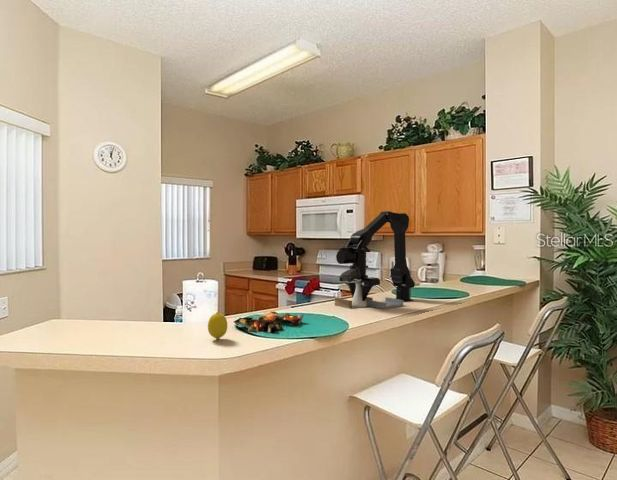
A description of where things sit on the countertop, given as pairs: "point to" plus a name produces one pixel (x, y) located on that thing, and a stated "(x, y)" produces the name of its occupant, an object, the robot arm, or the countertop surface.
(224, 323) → the lemon
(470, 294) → the countertop surface
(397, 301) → the cradle
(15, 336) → the countertop surface
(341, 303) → the channel
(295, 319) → the food
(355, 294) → the flask
